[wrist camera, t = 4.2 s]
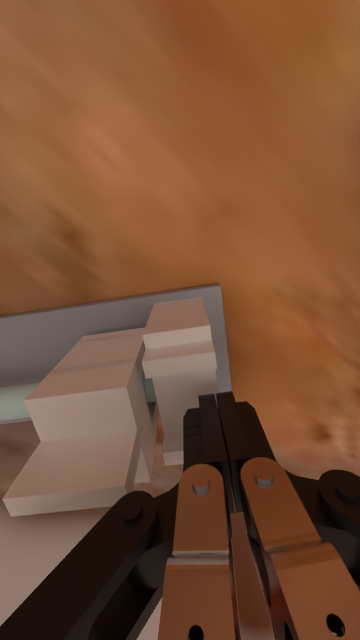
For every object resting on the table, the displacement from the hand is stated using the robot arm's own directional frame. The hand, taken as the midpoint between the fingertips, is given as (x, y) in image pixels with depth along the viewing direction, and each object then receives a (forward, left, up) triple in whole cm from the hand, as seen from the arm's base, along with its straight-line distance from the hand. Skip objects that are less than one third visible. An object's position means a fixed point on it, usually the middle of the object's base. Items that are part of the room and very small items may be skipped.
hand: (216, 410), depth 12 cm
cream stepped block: (+5, 0, -5) cm, 7 cm away
